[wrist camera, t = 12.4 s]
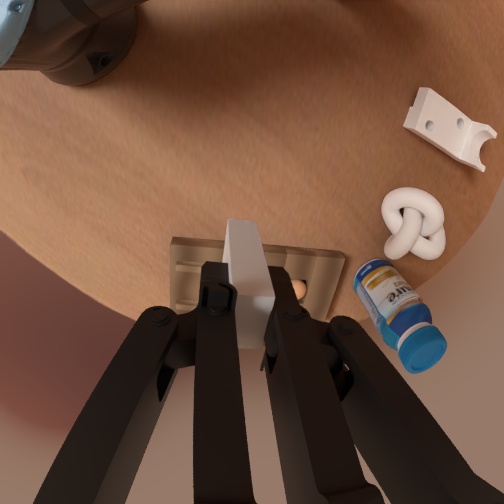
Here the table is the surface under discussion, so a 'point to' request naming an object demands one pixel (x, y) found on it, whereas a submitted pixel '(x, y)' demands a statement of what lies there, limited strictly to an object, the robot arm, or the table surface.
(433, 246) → the white knot
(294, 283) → the ball
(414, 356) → the beverage bottle
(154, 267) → the table surface
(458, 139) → the bracket
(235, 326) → the robot arm
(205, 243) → the lane board
